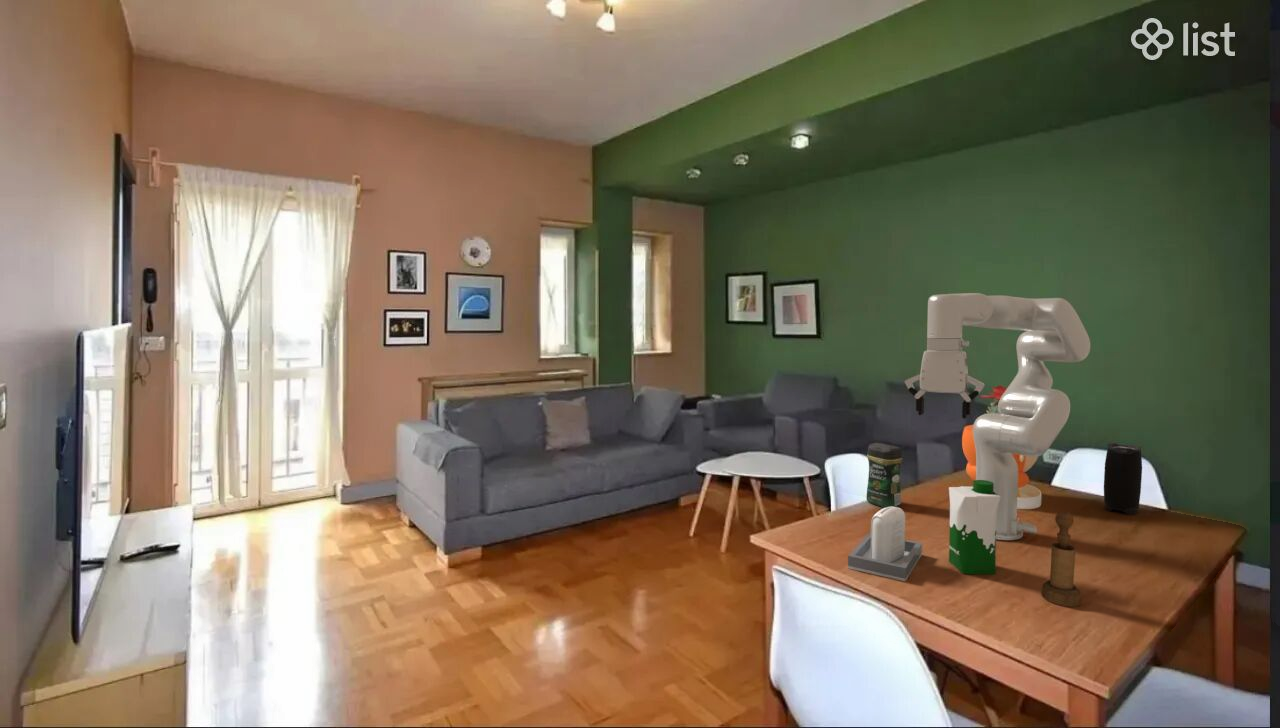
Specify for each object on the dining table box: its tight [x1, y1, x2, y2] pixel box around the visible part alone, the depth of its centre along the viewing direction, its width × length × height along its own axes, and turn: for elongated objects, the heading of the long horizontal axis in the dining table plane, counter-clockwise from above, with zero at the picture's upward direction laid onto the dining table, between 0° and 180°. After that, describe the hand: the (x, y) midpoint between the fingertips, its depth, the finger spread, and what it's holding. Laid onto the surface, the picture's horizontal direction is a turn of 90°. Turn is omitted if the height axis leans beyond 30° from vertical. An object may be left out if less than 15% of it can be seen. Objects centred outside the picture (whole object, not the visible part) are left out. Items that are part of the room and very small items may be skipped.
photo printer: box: [870, 506, 906, 563], centre depth 142 cm, size 10×4×12 cm, turn 129°
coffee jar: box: [866, 442, 903, 508], centre depth 184 cm, size 10×8×19 cm
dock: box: [847, 532, 923, 582], centre depth 143 cm, size 12×17×3 cm
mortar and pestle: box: [1041, 511, 1082, 608], centre depth 122 cm, size 7×6×18 cm
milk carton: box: [948, 480, 1000, 575], centre depth 138 cm, size 9×9×20 cm
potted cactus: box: [961, 385, 1043, 510], centre depth 187 cm, size 22×22×35 cm
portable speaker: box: [1103, 442, 1143, 515], centre depth 174 cm, size 8×9×19 cm
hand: (942, 416), depth 147 cm, fingers open, 9 cm apart
